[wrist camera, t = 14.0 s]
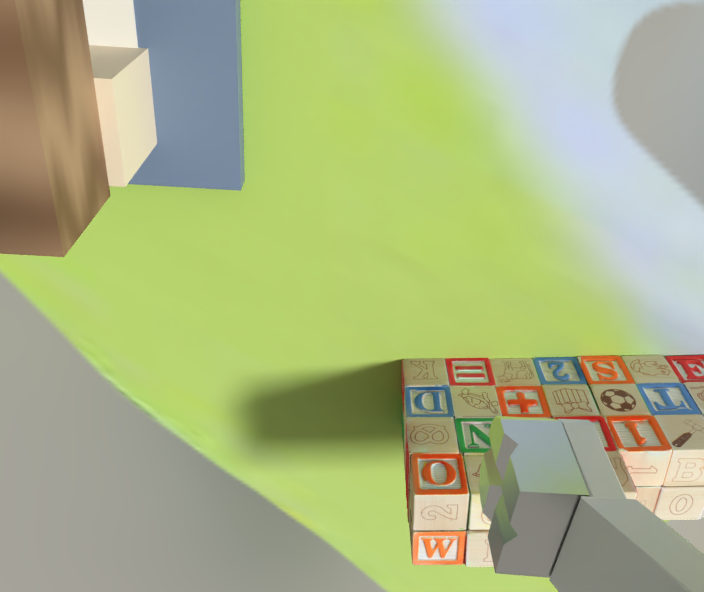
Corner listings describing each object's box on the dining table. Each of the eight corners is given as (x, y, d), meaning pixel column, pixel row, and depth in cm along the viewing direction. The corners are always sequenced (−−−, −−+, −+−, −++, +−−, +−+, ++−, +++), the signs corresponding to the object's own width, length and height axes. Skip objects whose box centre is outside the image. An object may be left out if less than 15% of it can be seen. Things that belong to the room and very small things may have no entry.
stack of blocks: (709, 350, 46) (813, 489, 36) (688, 418, 50) (777, 563, 39) (399, 357, 47) (412, 497, 36) (399, 424, 50) (410, 569, 40)
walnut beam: (-53, -237, 23) (-167, -268, 18) (49, -230, 23) (-36, -258, 18) (35, 191, 32) (-25, 252, 27) (110, 195, 32) (63, 256, 27)
